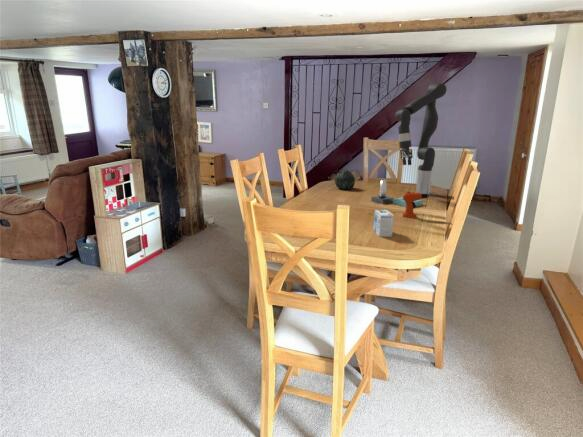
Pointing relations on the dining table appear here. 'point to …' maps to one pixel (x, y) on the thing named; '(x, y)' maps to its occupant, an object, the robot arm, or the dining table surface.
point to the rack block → (401, 202)
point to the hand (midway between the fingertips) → (407, 165)
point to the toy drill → (412, 203)
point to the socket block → (382, 199)
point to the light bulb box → (383, 223)
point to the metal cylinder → (383, 188)
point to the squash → (345, 180)
